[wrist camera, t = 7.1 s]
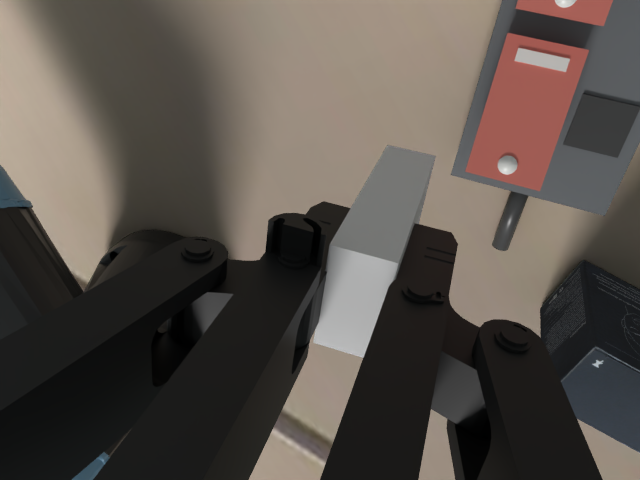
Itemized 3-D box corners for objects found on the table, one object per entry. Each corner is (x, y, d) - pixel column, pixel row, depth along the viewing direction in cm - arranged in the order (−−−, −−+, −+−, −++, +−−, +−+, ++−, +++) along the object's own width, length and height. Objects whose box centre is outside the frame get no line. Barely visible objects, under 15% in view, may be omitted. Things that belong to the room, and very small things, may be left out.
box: (538, 308, 46) (539, 400, 37) (583, 256, 43) (595, 345, 34) (627, 356, 45) (649, 462, 37) (679, 308, 42) (716, 411, 33)
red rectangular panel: (465, 169, 35) (465, 171, 34) (506, 34, 33) (507, 32, 32) (537, 188, 34) (540, 191, 33) (585, 51, 32) (589, 50, 31)
